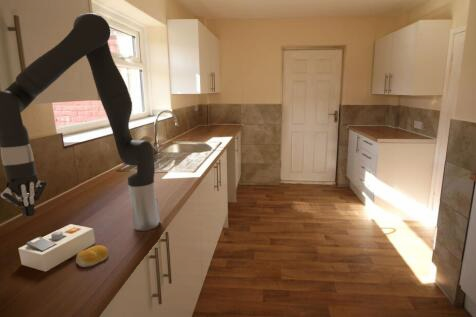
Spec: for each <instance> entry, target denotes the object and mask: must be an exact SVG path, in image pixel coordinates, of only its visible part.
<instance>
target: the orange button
mask: <svg viewBox="0 0 476 317" xmlns="http://www.w3.org/2000/svg"><path fill="white" fill-rule="evenodd" d="M77 231H78V228H72V229H69V230H68V231H67V232H68V233H69V234H73V233H75V232H77Z"/></svg>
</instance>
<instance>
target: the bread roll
mask: <svg viewBox="0 0 476 317" xmlns="http://www.w3.org/2000/svg"><path fill="white" fill-rule="evenodd" d="M108 255H109V251H108V248H107V247H106V246H104V245H102V244H101V245H100V244H97V245H92V246H90V247H88V248H86V249H84V250H83V251H80V252H79V253H77V254H76V255H75V256H76V258H75V263H76V264H77V265H78V266H79V267H81V268H87V267H91V266H95V265H97V264H98V263H102V262H103V261H105V260H106V259H107V258H108Z"/></svg>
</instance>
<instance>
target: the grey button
mask: <svg viewBox="0 0 476 317" xmlns="http://www.w3.org/2000/svg"><path fill="white" fill-rule="evenodd" d="M54 232H55V231H54ZM51 233H52V234H51V236H52V241H55V242H57V241H59V240H61V239H63V238H64V237H63V232H62V231H58V232H55V233H53V232H51Z"/></svg>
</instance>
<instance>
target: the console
mask: <svg viewBox="0 0 476 317" xmlns="http://www.w3.org/2000/svg"><path fill="white" fill-rule="evenodd" d="M72 228H78V231H77V232H75V233H73V234H69V233H68V232H67V231H68V230H69V229H72ZM58 231H62V232H63V237H64V238H63V239H61V240H59V241H57V242H55V241H52V236H51V234H52V233H55V232H58ZM41 238H43V239H45V240H47V241H49V242H51V243H53V244H55V246H53V247H51V248H49V249H47V250H45V251H43V252H39V251H36V250H34V249H32V248H30V247H28V246H27V244H24V245H22V246H20V247H18V248H17V249H18V253H19V258H20V263H21V265H22V266H25V267H29V268H31V269H36V270H39V271H43V272H47V271H50V270H51V269H53V268H55V267H56V266H58V265H60V264H61V263H64V262H65V261H67V260H68V259H70V258H72V257H74V256H77V254H78V253H79V252H80V251H83V250H87V249H88V248H90V247H92V246H94V245H95V244H96V238H95V232H94V228H92V227H87V226H82V225H78V224H77V225H76V224H71V223H70V224H68V225H65V226H64V227H61V228H60V229H57V230H55V231H53V232H51V233H49V234H47V235H45V236H43V237H42V236H41Z"/></svg>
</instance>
